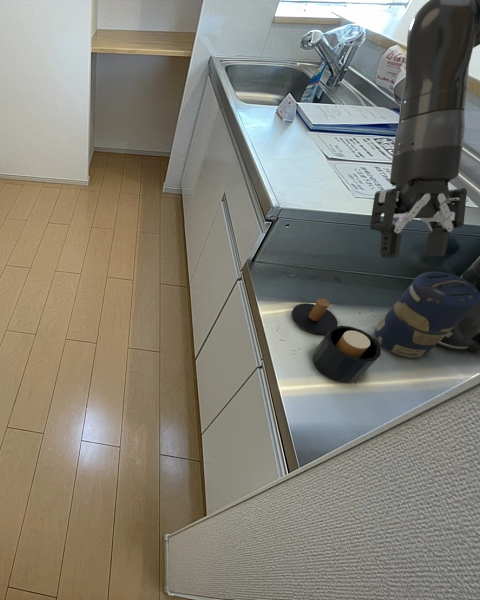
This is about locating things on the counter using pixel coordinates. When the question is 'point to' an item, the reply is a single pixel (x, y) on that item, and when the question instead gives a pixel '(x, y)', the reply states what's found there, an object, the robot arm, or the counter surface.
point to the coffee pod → (353, 343)
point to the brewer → (343, 357)
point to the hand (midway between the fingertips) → (412, 257)
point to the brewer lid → (314, 317)
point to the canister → (426, 313)
